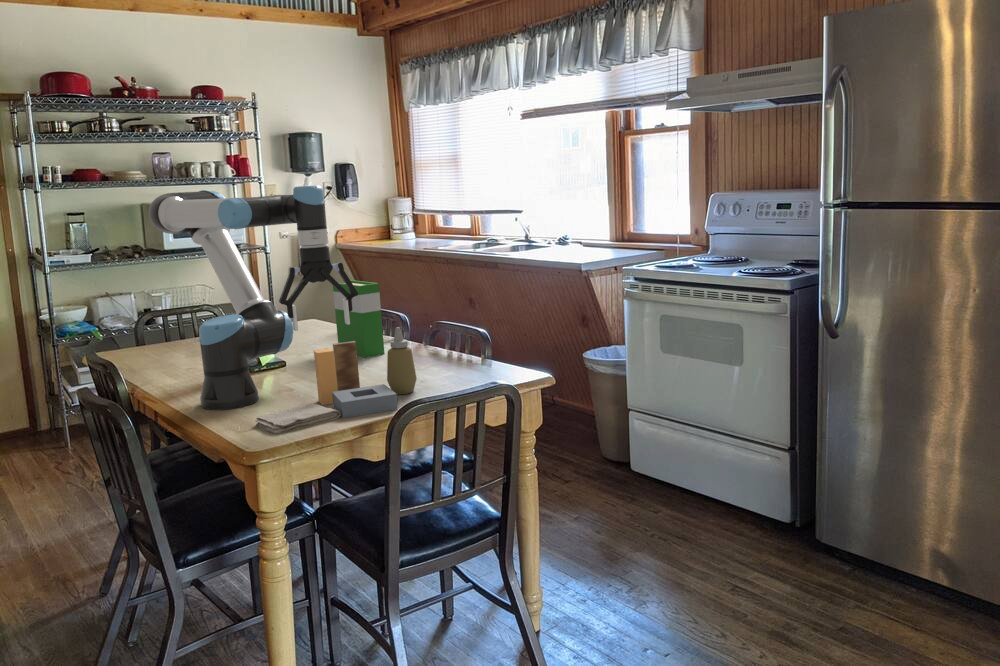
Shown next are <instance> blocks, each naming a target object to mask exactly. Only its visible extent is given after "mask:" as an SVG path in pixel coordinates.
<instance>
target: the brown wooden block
mask: <svg viewBox="0 0 1000 666" xmlns="http://www.w3.org/2000/svg"><path fill="white" fill-rule="evenodd" d="M332 350H334V356H335V366H336V377H337V388H338V391H342V390H348V389H355V388H361V387H360V386H361V385H360V374H359V363H358V362H359V361H358V356H357V349H356V342H355V341H350V342H343V343H338V342H336V343H332Z"/></svg>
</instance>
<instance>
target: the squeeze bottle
mask: <svg viewBox="0 0 1000 666" xmlns="http://www.w3.org/2000/svg"><path fill="white" fill-rule="evenodd" d="M389 342H390V343H389V345H390V348H389V349H388V350H387V365H386V370H387V371H386V375H387V376H386V381H387V383H388V385H389V386H388V387H389V388H390V389H391V390H392V391H393V392H395V393H396V394H397V395H407V394H410V393H413V392H414V389H415V387H416V382H417V373H416V367H415V362H414V356H413V351H412V348H411V347H408V346H409V345H408V343H409V341H408V339H404V337H403V333H402V330H401V327H399V326H398V327H397V326H396V327H395V329H394V337H393V340H391V341H389Z"/></svg>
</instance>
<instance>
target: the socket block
mask: <svg viewBox="0 0 1000 666" xmlns="http://www.w3.org/2000/svg"><path fill="white" fill-rule="evenodd" d="M332 398H333V403H332V406H333V409H335V410H338V411H339V412H340V416H341V417H342V418H343V419H346V418H351V417H356V416H357V417H358V416H363V415H371V414H377V413H381V412H389V411H394V410H399V409H398V407H399V406H398V394H396V393H395V392H393V391H392V390H391V388H390V387H389V386H387V385H386V384H385V383H383V384H376V385H370V386H362V387H360V388H355V389H348V390H342V391H335V392H332Z"/></svg>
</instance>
